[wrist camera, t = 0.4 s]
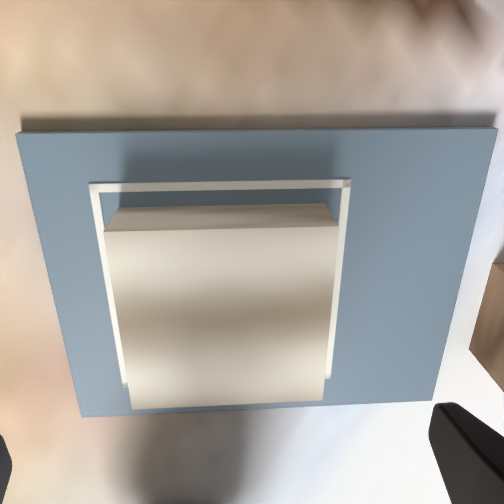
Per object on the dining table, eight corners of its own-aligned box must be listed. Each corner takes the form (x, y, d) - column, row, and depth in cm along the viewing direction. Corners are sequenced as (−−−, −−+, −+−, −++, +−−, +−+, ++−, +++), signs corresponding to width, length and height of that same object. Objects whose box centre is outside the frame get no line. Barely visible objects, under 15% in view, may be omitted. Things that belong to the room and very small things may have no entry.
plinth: (311, 362, 25) (322, 400, 23) (141, 370, 25) (132, 409, 22) (324, 203, 21) (339, 226, 18) (118, 207, 21) (103, 232, 18)
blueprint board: (427, 393, 28) (432, 401, 27) (84, 410, 27) (81, 419, 26) (491, 126, 21) (499, 129, 20) (20, 131, 19) (14, 134, 19)
